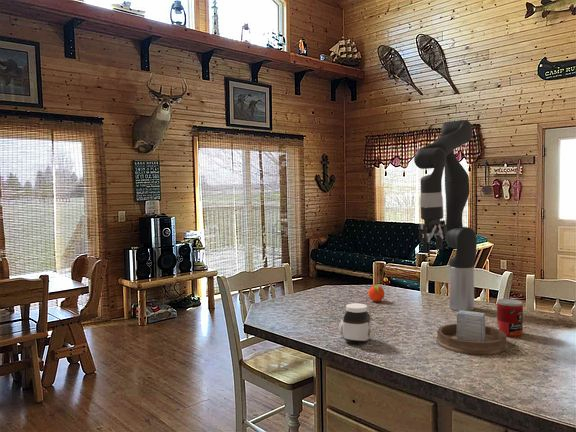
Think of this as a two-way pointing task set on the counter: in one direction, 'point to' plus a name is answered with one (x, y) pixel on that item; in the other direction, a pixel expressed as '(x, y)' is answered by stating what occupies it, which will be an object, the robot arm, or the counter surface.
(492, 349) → the round wooden tray
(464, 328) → the medicine box
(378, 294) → the clementine
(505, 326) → the canned food
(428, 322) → the counter surface
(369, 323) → the spread jar
